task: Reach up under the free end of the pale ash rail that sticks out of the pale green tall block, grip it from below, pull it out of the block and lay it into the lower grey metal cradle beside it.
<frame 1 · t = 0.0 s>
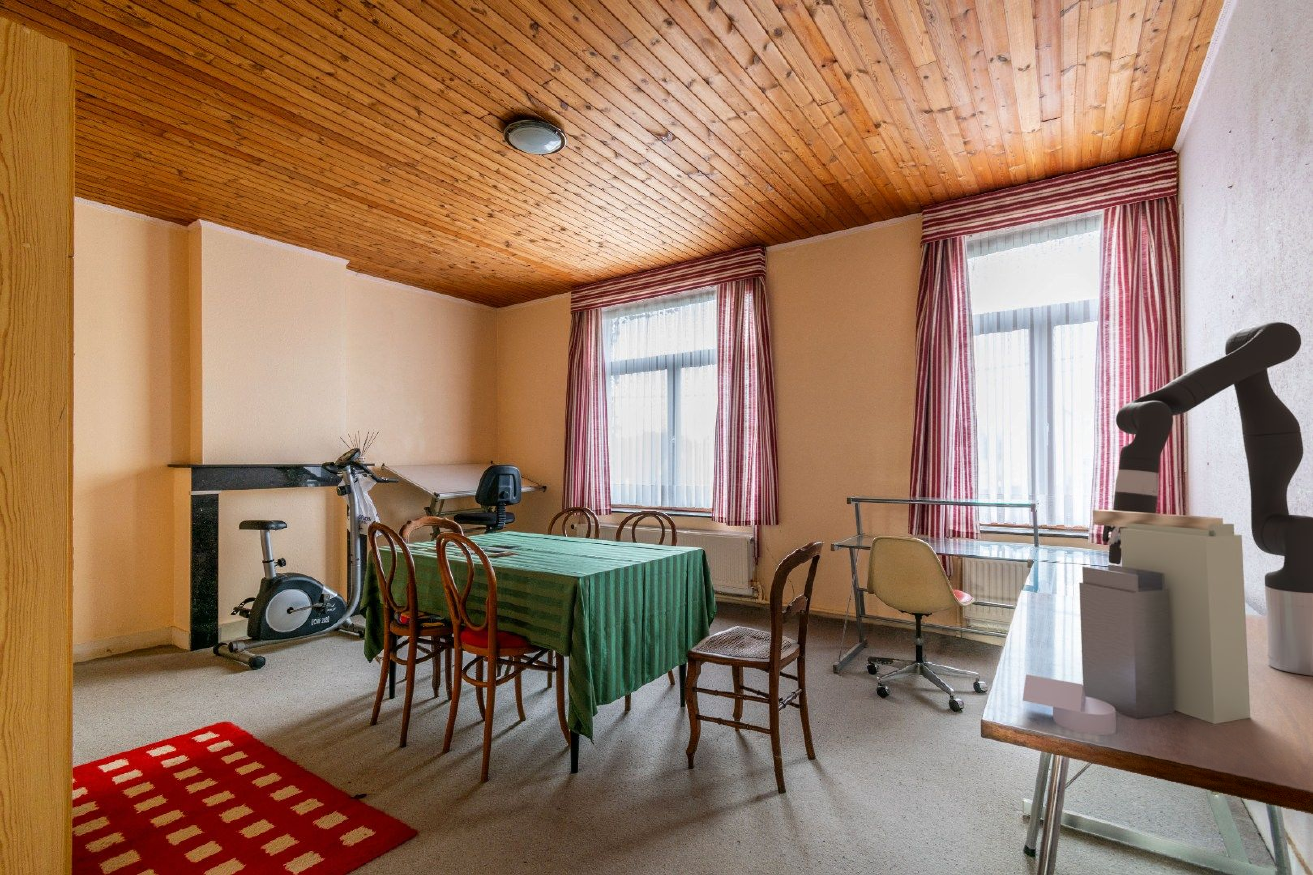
hand: (1128, 566, 136), 22 cm above the table, tool pointing down, fingers open, 8 cm apart
rail: (1153, 529, 122), point 32 cm above the table, touching pale green tall block
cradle: (1127, 705, 116), on the table
pale green tall block: (1185, 704, 116), on the table
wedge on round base: (1070, 721, 110), on the table
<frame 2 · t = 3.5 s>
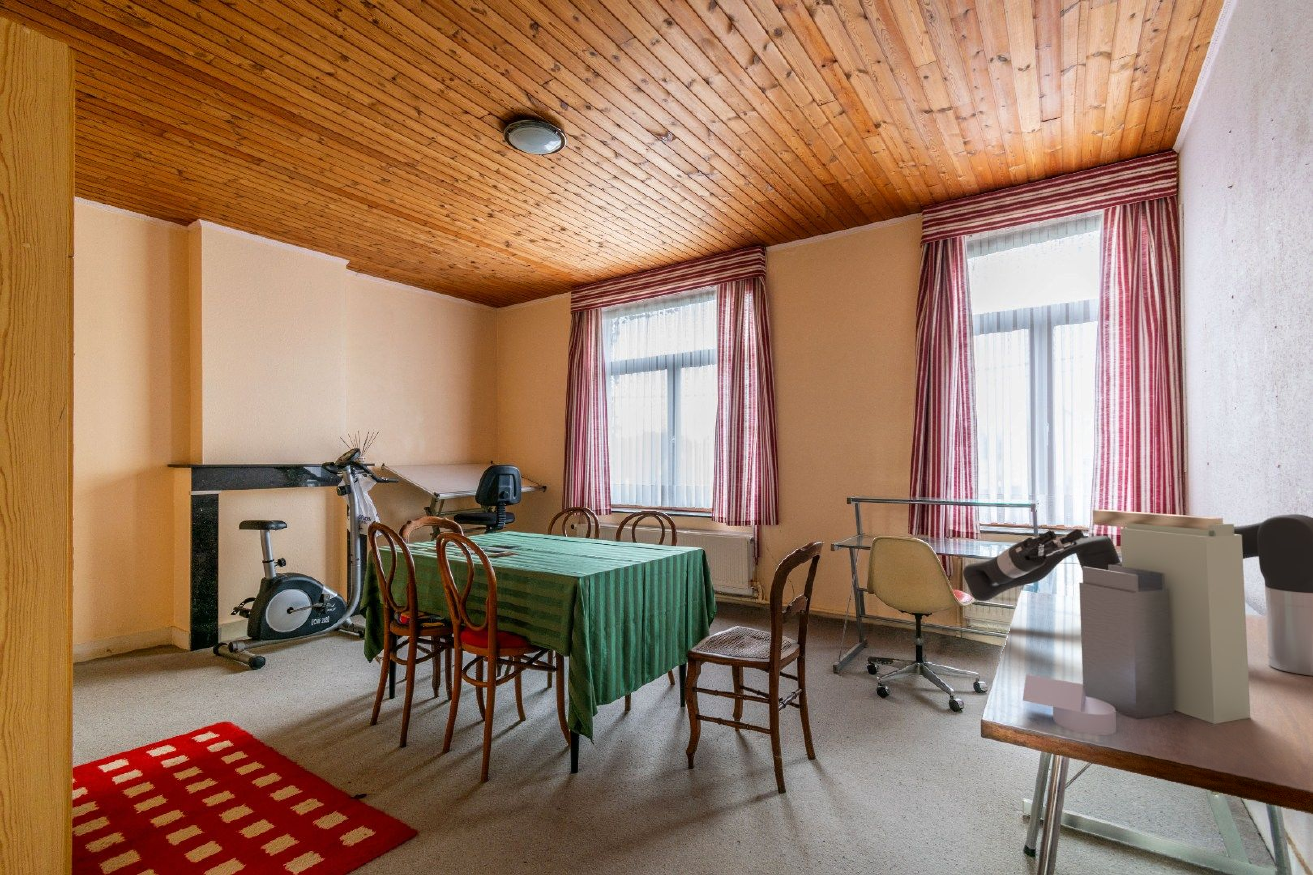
hand: (1067, 533, 152), 28 cm above the table, tool pointing upward, fingers open, 8 cm apart
nothing on the table moved.
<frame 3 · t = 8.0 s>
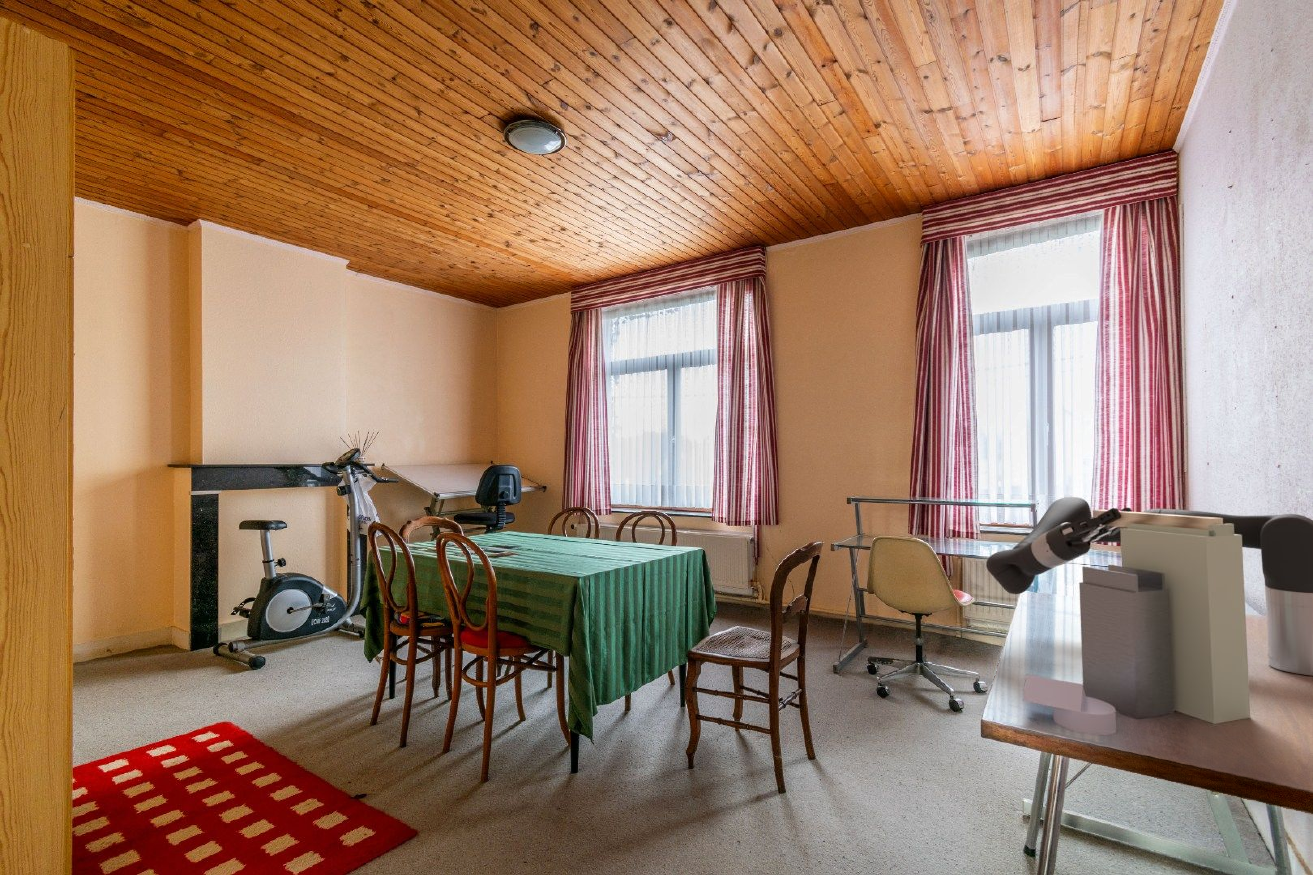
hand: (1124, 512, 127), 35 cm above the table, tool pointing upward, fingers closed on rail, 3 cm apart
rail: (1153, 529, 122), point 32 cm above the table, touching pale green tall block, gripper
everything else where it was.
when the fingers open (26 cm above the table, at t = 14.4 s): rail stays where it is, resting on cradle.
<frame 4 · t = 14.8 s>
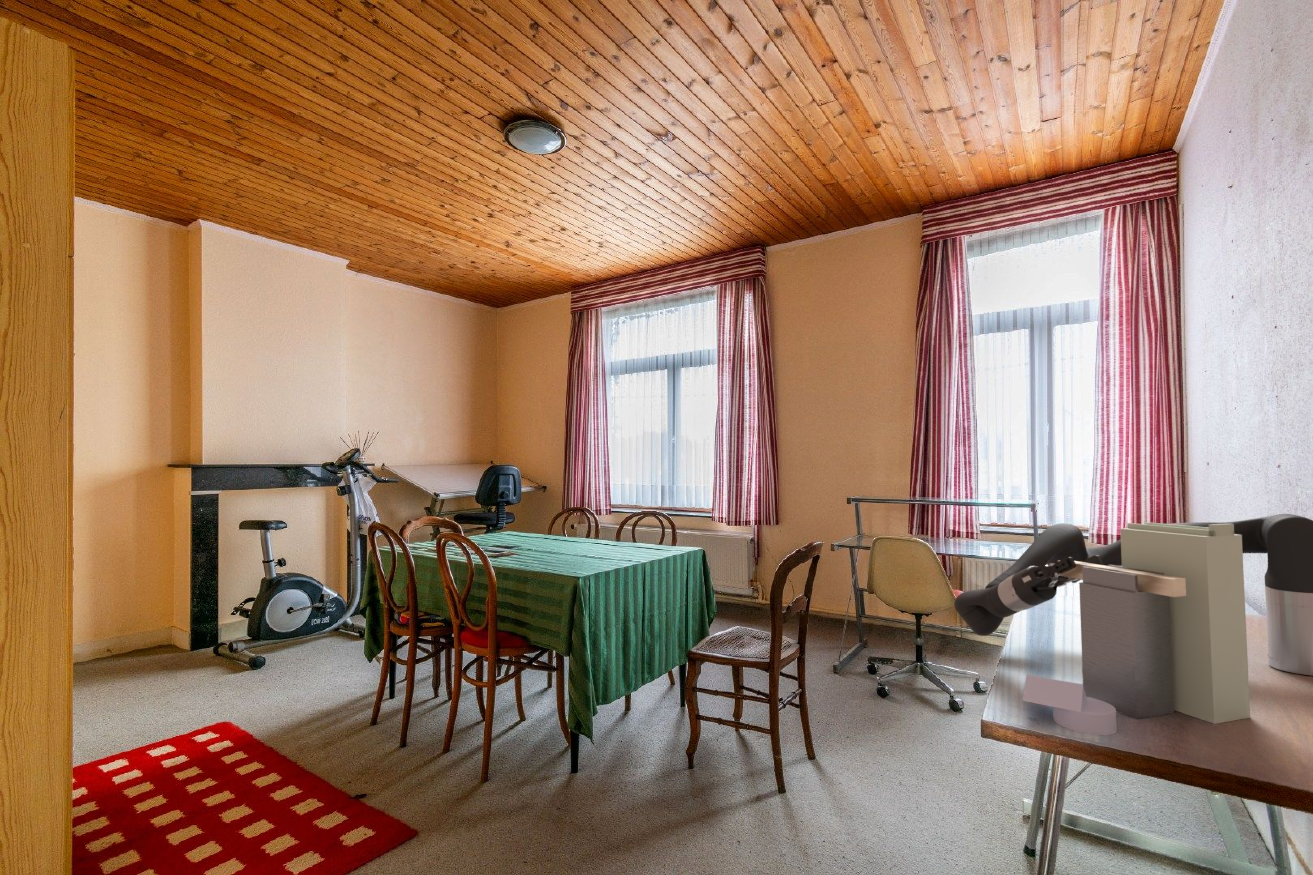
hand: (1086, 560, 124), 26 cm above the table, tool pointing upward, fingers open, 6 cm apart
rail: (1116, 584, 118), point 22 cm above the table, touching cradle
everything else where it was.
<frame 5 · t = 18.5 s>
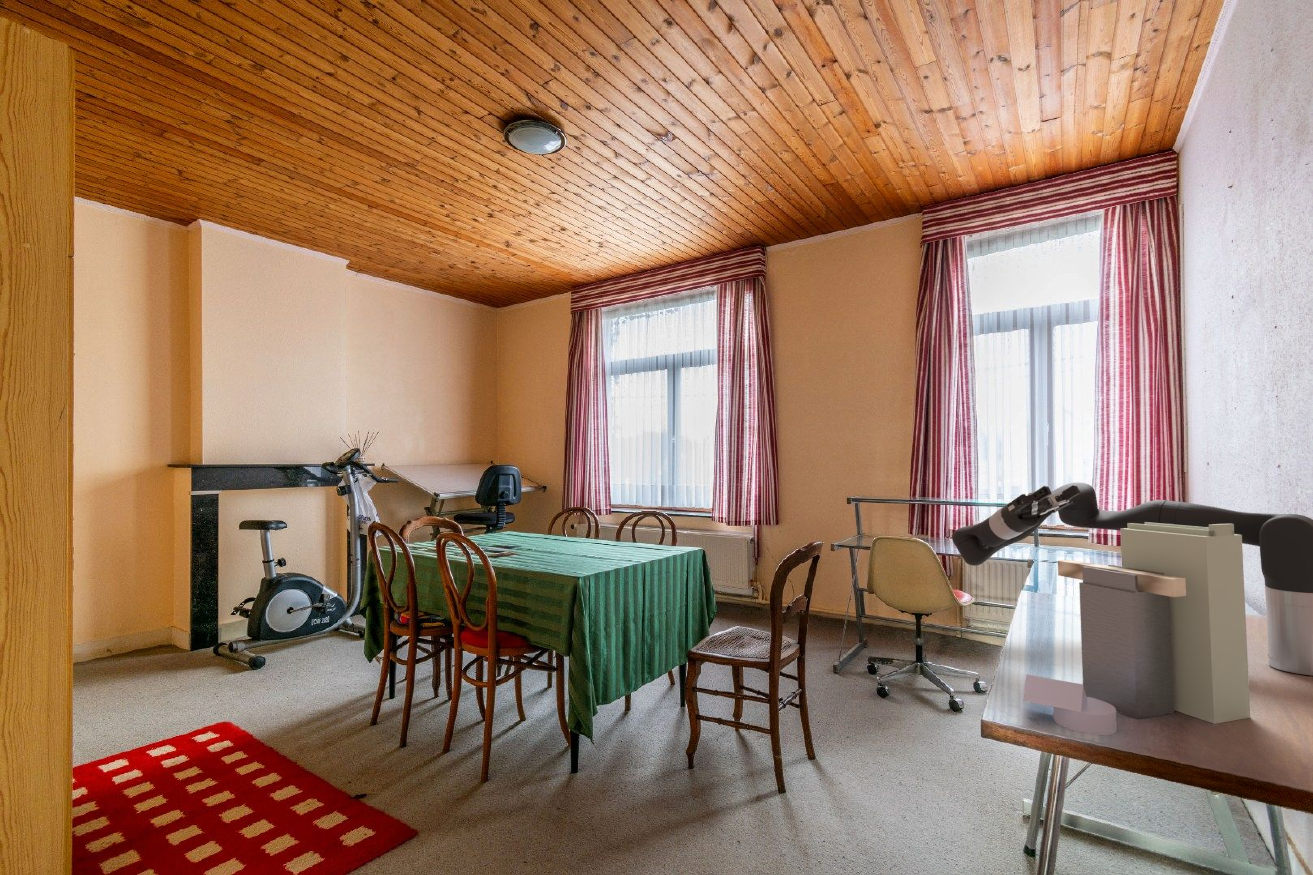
hand: (1063, 489, 144), 39 cm above the table, tool pointing upward, fingers open, 8 cm apart
nothing on the table moved.
at the end: rail inside the target area on the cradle (1.1 cm from its centre), point 22.0 cm above the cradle's base; the gripper is holding nothing; rail point 22.0 cm above the table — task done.
